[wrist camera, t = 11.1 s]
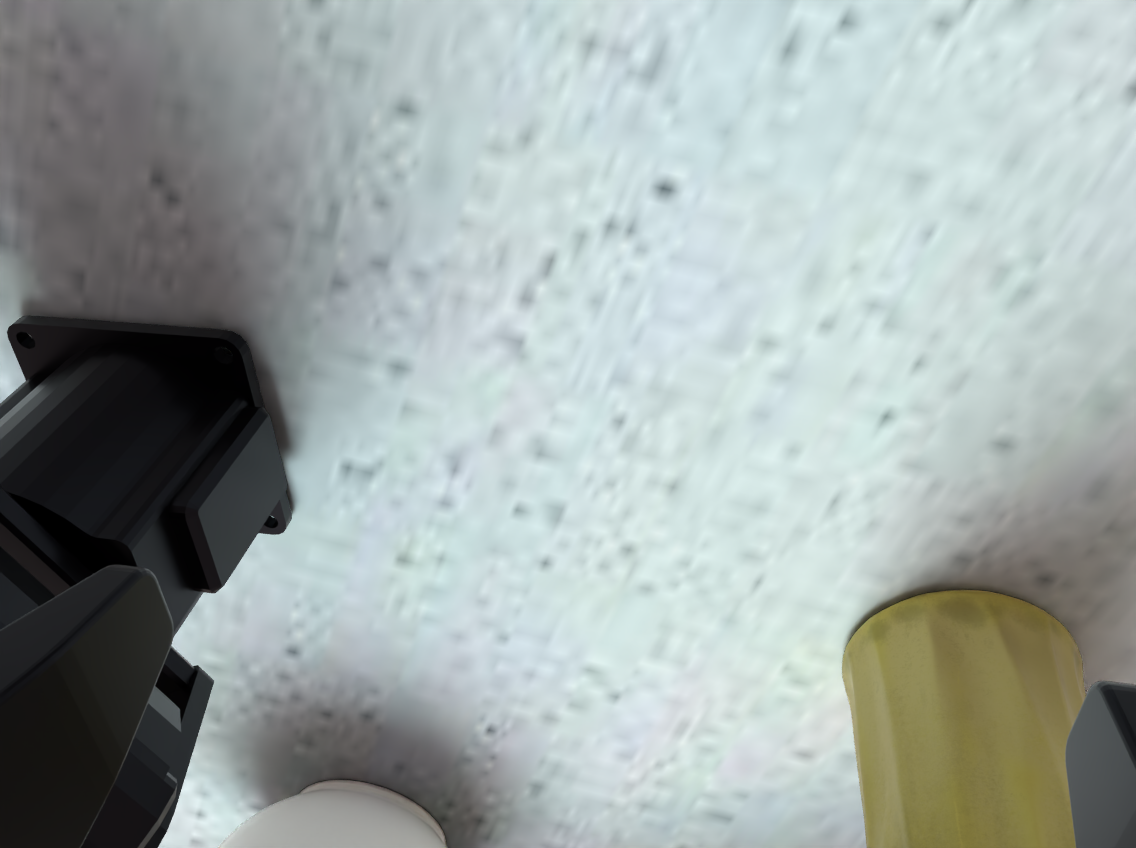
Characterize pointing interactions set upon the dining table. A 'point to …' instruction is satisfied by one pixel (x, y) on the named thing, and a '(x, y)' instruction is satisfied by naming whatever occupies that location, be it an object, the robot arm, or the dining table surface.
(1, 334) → the dining table surface
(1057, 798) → the vase
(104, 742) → the robot arm
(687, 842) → the dining table surface
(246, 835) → the lidded jar
